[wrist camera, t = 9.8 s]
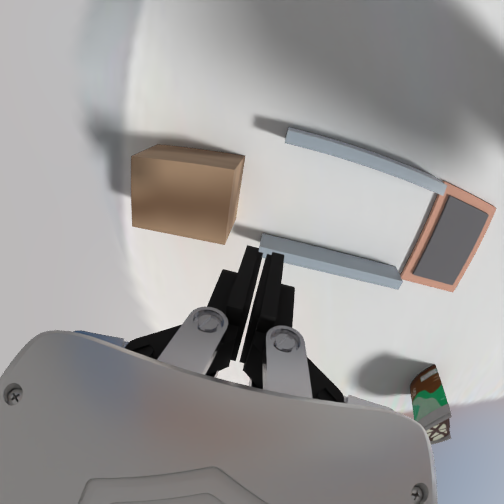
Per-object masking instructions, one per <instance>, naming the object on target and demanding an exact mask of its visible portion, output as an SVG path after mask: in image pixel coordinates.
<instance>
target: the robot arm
mask: <svg viewBox="0 0 504 504" xmlns="http://www.w3.org/2000/svg"><path fill="white" fill-rule="evenodd" d="M262 256H263V253H262V252H259V248H256V247H252V246H248V245H247V248H246V251H245V254H244V257H243V259H242V262H241V265H240V268H239V271H238V273H236V272H232V271H228V270H224V269H223V270H222V272H221V275H220V277H219V279H218V282H217V284H216V286H215V289H214V291H213V294H212V296H211V298H210V301H209V303H208V306H207V307H200V308H197V309H195V310H193V311H192V312H191V313H190V314H189V316H188V317H187V319H186V320H185V321H184V323H183V324H182V325H179V326H176V327H173V328H170V329H166V330H163V331H160V332H157V333H153V334H150V335H147V336H143V337H140V338H137V339H134V340H132V341H130V342H125V341H124V339H123V338H118V337H112V336H106V335H101V334H96V333H90V332H86V331H74V332H71V331H59V330H56V331H47V332H43V333H40V334H38V335H37V336H35V337H34V338H33V339H31V340H30V341H29V342H28V343H27V344H26V345H25V346H24V347H23V348H22V349H21V351H20V352H19V353H18V354H17V355H16V357H15V358H14V359H13V361H12V362H11V363H10V365H9V366H8V367H7V369H6V370H5V371H4V373H3V375H2V376H1V377H0V504H437V480H436V471H435V462H434V456H433V451H432V447H431V443H430V440H429V437H428V435H427V432H426V431H425V429H424V428H423V426H422V425H421V424H419V423H418V422H417V421H415V420H413V419H412V418H410V417H408V416H405V415H403V414H401V413H398V412H395V411H393V410H392V409H390V408H388V407H385V406H382V405H379V404H375V403H372V402H369V401H366V400H363V399H360V398H357V397H354V396H351V395H349V396H348V397H346V396H343V394H342V393H341V391H340V390H339V389H338V388H337V387H336V386H335V385H334V384H333V383H332V382H331V381H330V380H329V379H328V378H327V377H326V376H325V375H324V374H323V373H322V372H321V371H320V370H319V369H318V368H317V367H316V366H315V365H314V363H313V362H312V361H311V360H310V359H309V358H308V357H307V355H306V348H305V342H304V339H303V337H302V335H301V334H300V333H299V332H298V331H297V330H295V329H293V328H292V322H293V308H294V292H295V288H294V287H292V286H288V285H284V284H281V280H282V271H283V263H284V255H283V254H279V253H275V252H272V255H270V254H267V255H266V259H265V263H264V266H263V270H262V274H261V278H260V281H259V285H258V289H257V292H256V296H255V300H254V304H253V308H252V312H251V316H250V320H249V325H248V329H247V333H246V337H245V342H244V346H243V350H242V354H241V358H240V362H242V363H244V368H243V371H245V373H246V374H247V375H248V376H249V378H250V381H249V386H246V385H242V384H238V383H234V382H230V381H226V380H222V379H218V378H216V377H217V375H218V371H219V370H222V369H224V368H226V367H229V363H230V360H234V361H236V357H237V354H238V350H239V346H240V343H241V339H242V335H243V332H244V328H245V324H246V321H247V317H248V313H249V309H250V305H251V301H252V297H253V293H254V289H255V285H256V280H257V276H258V272H259V268H260V264H261V260H262Z"/></svg>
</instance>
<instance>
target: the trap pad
mask: <svg viewBox="0 0 504 504" xmlns="http://www.w3.org/2000/svg"><path fill="white" fill-rule="evenodd" d="M443 183H445V184H446V185H447V188H446V190H445V193H444V195H443V196H442V195H440V194H438V195H437V197H436V200H435V202H434V205H433V207H432V210H431V212H430V214H429V217H428V219H427V221H426V223H425V226H424V228H423V230H422V232H421V235H420V237H419V239H418V241H417V243H416V245H415V247H414V249H413V251H412V253H411V255H410V257H409V259H408V261H407V263H406V265H405V267H404V269H403V271H402V273H401V275H400V276H401V279H403V280H407V281H411V282H415V283H419V284H423V285H427V286H431V287H435V288H438V289H442V290H446V291H450V292H453V291H454V290H455V288H456V287H457V285H458V283H459V282H460V280H461V278H462V276H463V275H464V273H465V271H466V269H467V268H468V266H469V264H470V262H471V260H472V259H473V257H474V255H475V253H476V251H477V249H478V247H479V245H480V243H481V241H482V239H483V237H484V235H485V233H486V231H487V229H488V226H489V224H490V222H491V220H492V218H493V215H494V213H495V211H496V208H495V207H494V206H492V205H490V204H489V203H487V202H485V201H483V200H481V199H479V198H477V197H476V196H474V195H472V194H470V193H468V192H466V191H464V190H462V189H460V188H458V187H456V186H454V185H452V184H450V183H447V182H445V181H443Z"/></svg>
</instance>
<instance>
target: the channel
mask: <svg viewBox="0 0 504 504" xmlns="http://www.w3.org/2000/svg"><path fill="white" fill-rule="evenodd" d="M285 143H287V144H291V145H295V146H299V147H303V148H307V149H311V150H314V151H318V152H321V153H325V154H328V155H332V156H335V157H339V158H342V159H345V160H348V161H351V162H355V163H358V164H361V165H364V166H367V167H370V168H373V169H376V170H378V171H381V172H384V173H387V174H390V175H392V176H395V177H398V178H400V179H403V180H406V181H408V182H411V183H413V184H416V185H418V186H421V187H423V188H426V189H428V190H430V191H433V192H435V193H438V194H440V195H442V196H443V195H444V193H445V190H446V188H447V185H446V184H445V183H443V182H442V181H440V180H439V179H438V178H436V177H434V176H432V175H430V174H428V173H425V172H423V171H421V170H418V169H416V168H413V167H411V166H409V165H406V164H404V163H401V162H399V161H396V160H393V159H391V158H388V157H385V156H383V155H380V154H377V153H374V152H372V151H369V150H366V149H363V148H360V147H357V146H354V145H351V144H348V143H344V142H341V141H338V140H335V139H331V138H328V137H324V136H321V135H317V134H314V133H310V132H306V131H303V130H299V129H295V128H291V127H288V130H287V134H286V139H285ZM259 252H262V253H263V256H262V257H263V258H266V255H267V254H270V255H272V252H275V253H279V254H283V255H284V263H288V264H292V265H296V266H301V267H305V268H309V269H313V270H317V271H322V272H326V273H330V274H334V275H339V276H343V277H347V278H351V279H356V280H360V281H364V282H368V283H373V284H377V285H381V286H386V287H390V288H394V289H399V287H400V286H401V284H402V282H403V281H402V279H401V276H400V274H399V272H398V270H397V268H396V267H394V266H391V265H387V264H383V263H379V262H376V261H372V260H368V259H364V258H360V257H356V256H352V255H349V254H345V253H341V252H337V251H333V250H329V249H325V248H321V247H317V246H313V245H309V244H305V243H301V242H297V241H293V240H289V239H284V238H280V237H276V236H272V235H268V234H264V233H262V238H261V242H260V246H259Z"/></svg>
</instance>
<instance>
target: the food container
mask: <svg viewBox="0 0 504 504" xmlns="http://www.w3.org/2000/svg"><path fill="white" fill-rule="evenodd" d="M410 391H411V398H412V405H413V413H414V420H415V421H417V422H418V423H419V424H421V425H422V426H423V428H424V429H425V431H426V432H427V435H428V437H429V440H430V443H431V444H436V443H439V442H443V441H445V440H448V439H450V438H451V437H450V432H449V428H450V423H449V418H451V412H450V408H449V404H448V402H447V399H446V396H445V392H444V389H443V386H442V383H441V380H440V377H439V374H438V371H437V368H436V365H433V366H431V367H429V368H427V369H426V370H424V371H423V372H421V373H420V374H419V375H418V376H417V377H416V378H414V380H413V381H412V383H411V385H410Z"/></svg>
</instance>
